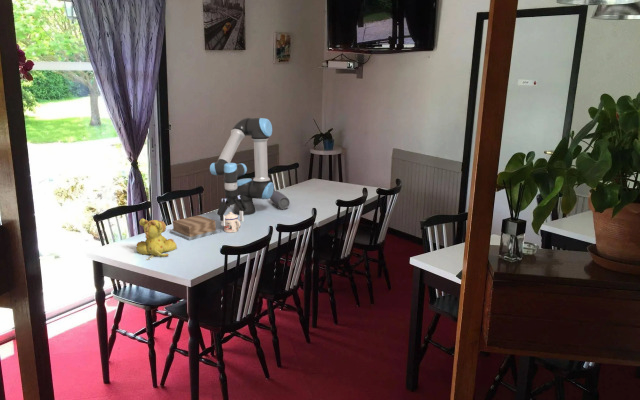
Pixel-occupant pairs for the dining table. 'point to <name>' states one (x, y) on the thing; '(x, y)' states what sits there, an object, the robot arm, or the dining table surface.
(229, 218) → the teacup with lid
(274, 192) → the bluetooth speaker
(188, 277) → the dining table surface
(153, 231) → the giraffe plush
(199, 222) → the plinth
